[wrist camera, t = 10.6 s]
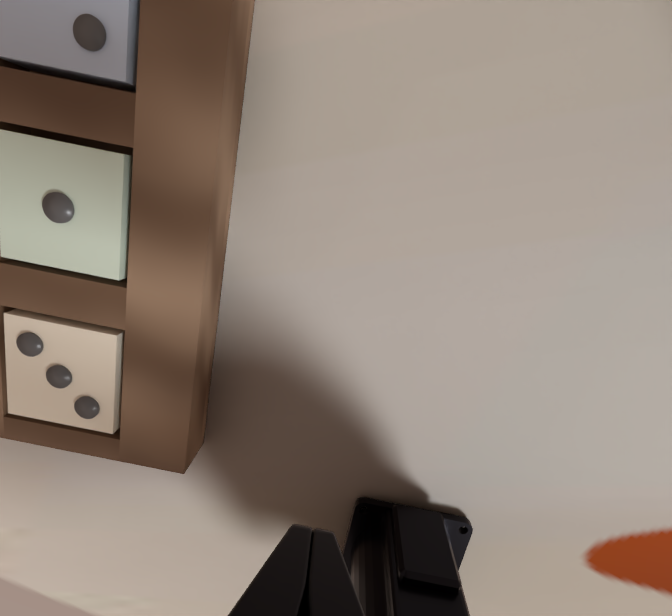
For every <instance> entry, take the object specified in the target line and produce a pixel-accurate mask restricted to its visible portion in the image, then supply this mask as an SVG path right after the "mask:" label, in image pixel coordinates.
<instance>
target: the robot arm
mask: <svg viewBox="0 0 672 616" xmlns="http://www.w3.org/2000/svg"><path fill="white" fill-rule="evenodd" d="M361 507H367V508H365V509H362V508H361ZM460 527H464V528H460ZM472 531H473V529H472V526H471V523H470V521H469V520H468V519H467V518H465V517H461V516H456V515H451V514H446V513H441V512H436V511H431V510H426V509H421V508H415V507H410V506H405V505H400V504H395V503H390V502H385V501H380V500H375V499H370V498H364V497H362V498H359V499H357V500H356V502H355V505H354V508H353V512H352V516H351V520H350V524H349V528H348V532H347V536H346V540H345V544H344V548H343V552H341V550H340V547H339V544H338V542H337V539H336V536H335V534H334V533H333V532H332V531H328V530H323V529H318V528H316V529H314V530H313V532H312V528H311V527H308V526H303V525H298V524H293V525H292V526H291V527H290V528H289V530H288V531H287V532H286V534H285V535H284V537H283V538H282V540H281V541H280V542H279V544H278V545H277V547H276V548H275V549H274V551H273V552H272V554H271V555H270V557H269V558H268V559H267V561H266V562H265V564H264V565H263V567H262V568H261V569H260V571H259V572H258V574H257V575H256V576H255V578H254V579H253V581H252V582H251V584H250V585H249V586H248V588H247V589H246V591H245V592H244V594H243V595H242V596H241V598H240V599H239V601H238V602H237V603H236V605H235V606H234V608H233V609H232V611H231V612H230V613H229V615H228V616H470V614H469V611H468V607H467V603H466V600H465V596H464V592H463V589H462V585H461V580H460V576H459V572H458V570H459V567H460V565H461V562H462V559H463V556H464V554H465V551H466V548H467V545H468V543H469V540H470V537H471V534H472Z"/></svg>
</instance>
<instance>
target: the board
mask: <svg viewBox="0 0 672 616" xmlns="http://www.w3.org/2000/svg"><path fill="white" fill-rule="evenodd" d="M254 2H255V0H140V18H139V39H138V61H137V82H136V92H134V91H129V90H124V89H119V88H114V87H109V86H104V85H99V84H94V83H89V82H84V81H79V80H75V79H70V78H65V77H60V76H55V75H50V74H45V73H40V72H35V71H32V70H29V69H27V68H24V67H22V66H19V65H16V64H14V63H11V62H9V61H6V60H4V59H1V58H0V129H1V130H7V131H12V132H17V133H22V134H27V135H33V136H38V137H43V138H48V139H53V140H58V141H62V142H67V143H72V144H77V145H82V146H87V147H92V148H97V149H102V150H107V151H112V152H117V153H122V154H127V155H132V156H133V168H132V189H131V211H130V232H129V253H128V275H127V278H124V279H122V280H114V279H109V278H104V277H99V276H94V275H89V274H84V273H79V272H74V271H69V270H65V269H60V268H55V267H50V266H45V265H40V264H35V263H30V262H25V261H20V260H15V259H10V258H5V257H1V250H0V437H1V438H6V439H11V440H16V441H21V442H26V443H31V444H36V445H41V446H46V447H51V448H56V449H61V450H66V451H71V452H76V453H81V454H86V455H91V456H96V457H101V458H106V459H111V460H116V461H121V462H126V463H131V464H136V465H141V466H146V467H151V468H156V469H161V470H166V471H171V472H176V473H181V474H184V473H185V472H186V470H187V469H188V467H189V465H190V464H191V462H192V460H193V459H194V457H195V456H196V454H197V452H198V451H199V449H200V448H201V446H202V444H203V443H204V434H205V426H206V417H207V408H208V400H209V391H210V382H211V374H212V365H213V356H214V348H215V339H216V330H217V322H218V313H219V305H220V296H221V287H222V279H223V270H224V261H225V253H226V244H227V235H228V227H229V218H230V210H231V201H232V192H233V184H234V175H235V166H236V158H237V149H238V140H239V132H240V123H241V114H242V106H243V97H244V89H245V80H246V71H247V63H248V54H249V45H250V37H251V28H252V19H253V11H254ZM14 309H22V310H27V311H32V312H37V313H42V314H47V315H52V316H57V317H62V318H67V319H72V320H77V321H82V322H87V323H92V324H97V325H102V326H107V327H112V328H117V329H122V330H125V339H124V361H123V382H122V403H121V425H120V428H119V429H118V430H117V431H116V432H114V433H113V434H110V433H105V432H100V431H95V430H90V429H85V428H80V427H75V426H70V425H65V424H60V423H55V422H50V421H45V420H40V419H35V418H30V417H25V416H20V415H15V414H10V413H8V402H7V379H6V357H5V334H4V313H5V312H8V311H11V310H14Z"/></svg>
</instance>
